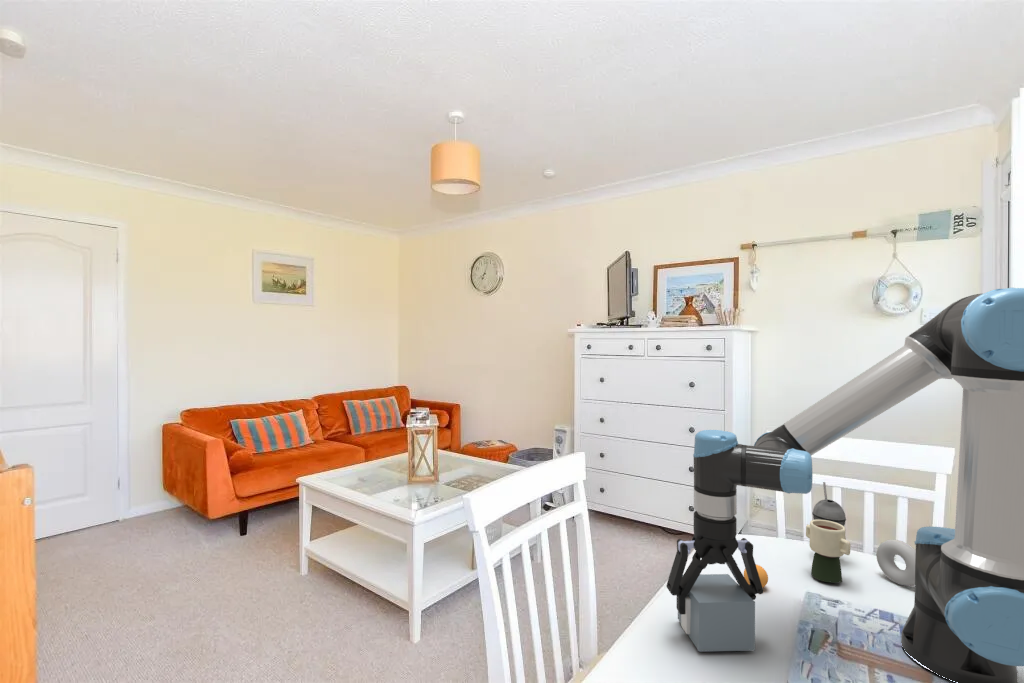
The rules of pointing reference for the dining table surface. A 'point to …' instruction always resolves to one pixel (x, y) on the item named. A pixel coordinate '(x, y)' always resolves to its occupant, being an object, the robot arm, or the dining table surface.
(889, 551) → the donut
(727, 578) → the grey rectangular box
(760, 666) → the dining table surface
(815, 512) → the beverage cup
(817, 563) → the character mug
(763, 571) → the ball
